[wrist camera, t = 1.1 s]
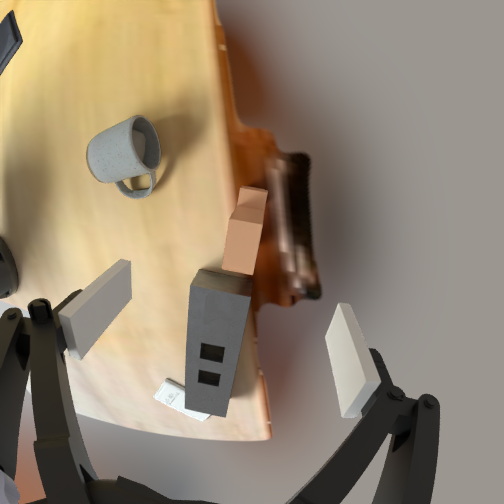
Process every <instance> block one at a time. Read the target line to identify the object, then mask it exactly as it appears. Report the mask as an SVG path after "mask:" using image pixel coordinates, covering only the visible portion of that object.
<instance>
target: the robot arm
mask: <svg viewBox="0 0 504 504" xmlns="http://www.w3.org/2000/svg"><path fill="white" fill-rule="evenodd" d="M17 287H18V275H17V270H16V266H15V263H14V260H13V258H12V255H11V253H10V251H9V249H8V247H7V246H6V244H5V243H4V242H3V240H2V239H1V238H0V299H2V298H7V297H9V296H11V295H12V294H13V293H15V292H16V290H17ZM131 299H132V288H131V261H128V260H123V259H120V260H119V261H118V262H116V263H115V264H114V265H113V266H111V267H110V268H109V269H108V270H107V271H105V272H104V273H103V274H102V275H101V276H99V277H98V278H97V279H96V280H95V281H93V282H92V283H91V284H90V285H89V286H88V287H86V288H85V289H84V290H81V289H79V290H77V291H75V292H73V293H71V294H70V295H69V296H68V297H67V298H66V299H64V300H63V302H61V303H60V304H59V305H58V306H56V307H55V308H54V309H53V310H52V309H51V304H50V301H48V300H47V299H44V298H39V299H35V300H33V301H31V302H30V303H29V304H28V311H29V314H30V318H27V317H23V314H22V312H21V310H20V309H19V308H9V309H7V310H6V311H5V312H4V313H3V314H2V316H1V318H0V504H18V500H19V499H20V494H19V492H18V491H17V487H16V485H15V483H14V479H15V473H16V464H17V447H18V436H19V427H20V419H21V413H22V406H23V401H24V395H25V390H26V385H27V381H28V376H29V372H30V377H31V394H32V405H33V414H34V421H35V428H36V434H37V441H34V452H35V457H36V461H37V465H38V470H39V473H40V477H41V481H42V485H43V488H44V491H45V494H46V498H44V499H41V500H37V501H34V502H31V503H27V504H217V503H212V502H206V501H190V500H172V499H169V498H167V497H165V496H163V495H161V494H159V493H157V492H156V491H154V490H152V489H150V488H148V487H147V486H145V485H143V484H140V483H137V482H134V481H131V480H129V479H126V478H124V477H121V476H118V478H117V480H112V479H102V480H99V479H98V477H97V475H96V473H95V471H94V469H93V467H92V465H91V463H90V460H89V457H88V454H87V451H86V448H85V446H84V442H83V439H82V435H81V432H80V428H79V425H78V421H77V417H76V413H75V409H74V405H73V400H72V396H71V391H70V386H69V380H68V374H67V368H66V361H65V355H64V351H65V349H66V348H67V349H68V352H69V355H70V356H71V357H74V358H76V359H78V360H80V361H81V360H82V359H83V357H84V356H85V355H86V353H87V352H88V351H89V350H90V348H91V347H92V346H93V345H94V343H95V342H96V341H97V340H98V338H99V337H100V336H101V335H102V333H103V332H104V331H105V330H106V328H107V327H108V326H109V325H110V324H111V322H112V321H113V320H114V319H115V318H116V316H117V315H118V314H119V313H120V312H121V310H122V309H123V308H124V307H125V306H126V304H127V303H128V302H129V301H130V300H131ZM325 339H326V343H327V348H328V352H329V357H330V361H331V366H332V370H333V375H334V380H335V384H336V389H337V394H338V400H339V405H340V410H341V415H342V418H356V416H357V415H358V414H359V413H360V411H361V412H362V416H363V417H362V419H361V420H360V421H359V422H358V424H357V425H356V426H355V427H354V429H353V430H352V432H351V433H350V434H349V436H348V437H347V438H346V439H345V441H344V442H343V443H342V444H341V446H340V447H339V448H338V449H337V450H336V452H335V453H334V454H333V455H332V456H331V457H330V458H329V460H328V461H327V462H326V463H325V464H324V465H323V466H322V468H321V469H320V470H319V471H318V472H317V473H316V474H315V475H314V476H313V477H312V478H311V479H310V480H309V481H308V482H307V483H306V484H305V485H304V486H303V487H302V488H301V489H300V490H299V491H298V492H297V493H296V494H295V495H294V496H293V497H292V498H291V499H289V500H288V501H287V502H286V503H285V504H340V503H341V502H342V500H343V499H344V498H345V496H346V495H347V494H348V493H349V491H350V490H351V489H352V487H353V486H354V485H355V483H356V482H357V481H358V479H359V478H360V477H361V475H362V474H363V472H364V471H365V469H366V468H367V467H368V465H369V463H370V462H371V461H372V459H373V458H374V456H375V454H376V453H377V451H378V450H379V448H380V446H381V445H382V443H383V441H384V440H385V438H386V436H387V435H388V433H389V434H392V437H391V441H390V445H389V450H388V454H387V458H386V461H385V464H384V468H383V471H382V475H381V478H380V481H379V484H378V487H377V490H376V493H375V496H374V499H373V502H372V504H430V502H431V497H432V492H433V487H434V480H435V473H436V466H437V457H438V445H439V428H440V427H439V426H440V405H439V402H438V400H437V399H436V398H435V397H434V396H432V395H430V394H423V395H421V396H420V398H419V399H418V400H415V399H412V398H408V397H406V396H405V393H404V392H403V390H401V389H400V388H399V387H396V386H394V385H393V383H392V380H391V378H390V375H389V373H388V371H387V369H386V366H385V364H384V361H383V359H382V357H381V355H380V353H378V351H377V350H376V349H372V348H371V349H370V348H368V346H367V344H366V341H365V339H364V336H363V334H362V331H361V329H360V327H359V324H358V322H357V320H356V317H355V315H354V313H353V311H352V308H351V306H350V304H346V303H338V305H337V308H336V311H335V313H334V316H333V319H332V321H331V324H330V326H329V329H328V331H327V334H326V336H325Z"/></svg>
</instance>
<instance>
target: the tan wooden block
mask: <svg viewBox="0 0 504 504" xmlns="http://www.w3.org/2000/svg"><path fill="white" fill-rule="evenodd" d="M267 194H268V190H265V189H260V188H255V187H249V186H241V188H240V192H239V198H238V204H237V207H236V208H235V210H234V212H233V213H232V215H231V217H230V218H229V224H228V231H227V237H226V244H225V250H224V257H223V264H222V269H223V270H228V271H234V272H239V273H244V274H249V275H253V272H254V266H255V261H256V256H257V251H258V246H259V241H260V236H261V231H262V226H263V218H264V209H265V204H266V199H267Z"/></svg>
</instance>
